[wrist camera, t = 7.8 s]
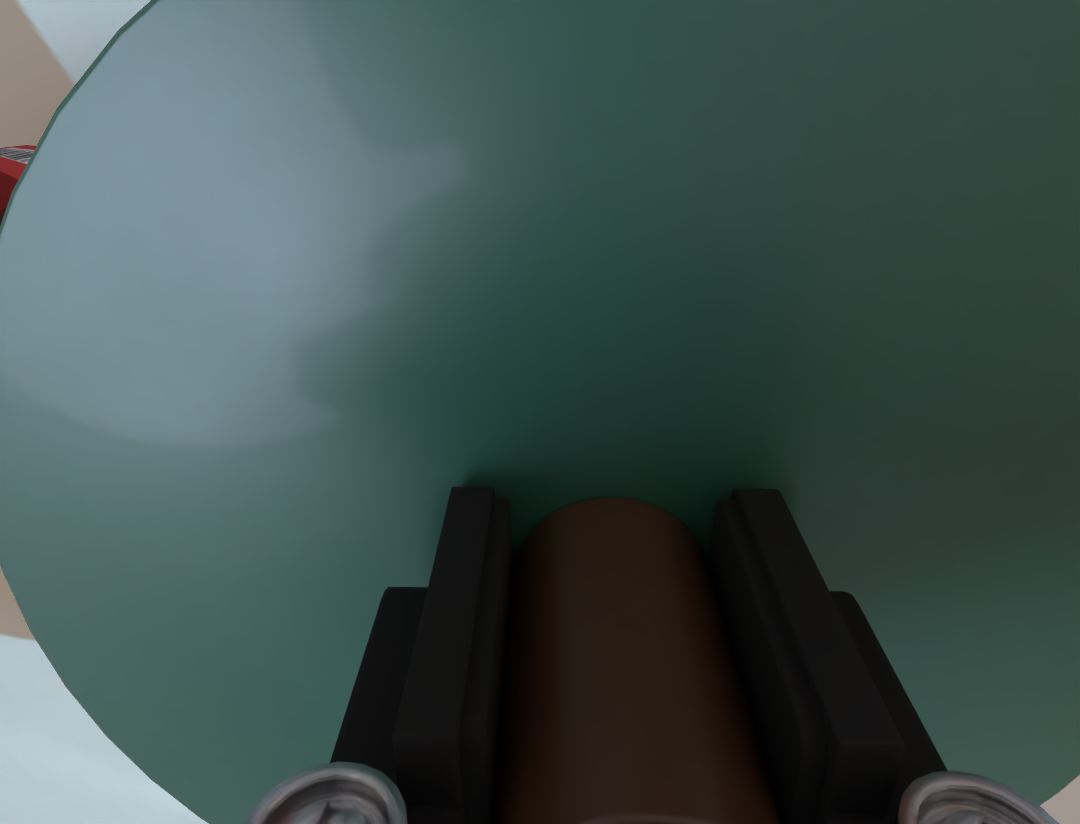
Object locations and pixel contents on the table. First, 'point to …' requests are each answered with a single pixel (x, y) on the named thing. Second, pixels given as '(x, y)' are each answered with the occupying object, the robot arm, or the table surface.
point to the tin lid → (549, 372)
